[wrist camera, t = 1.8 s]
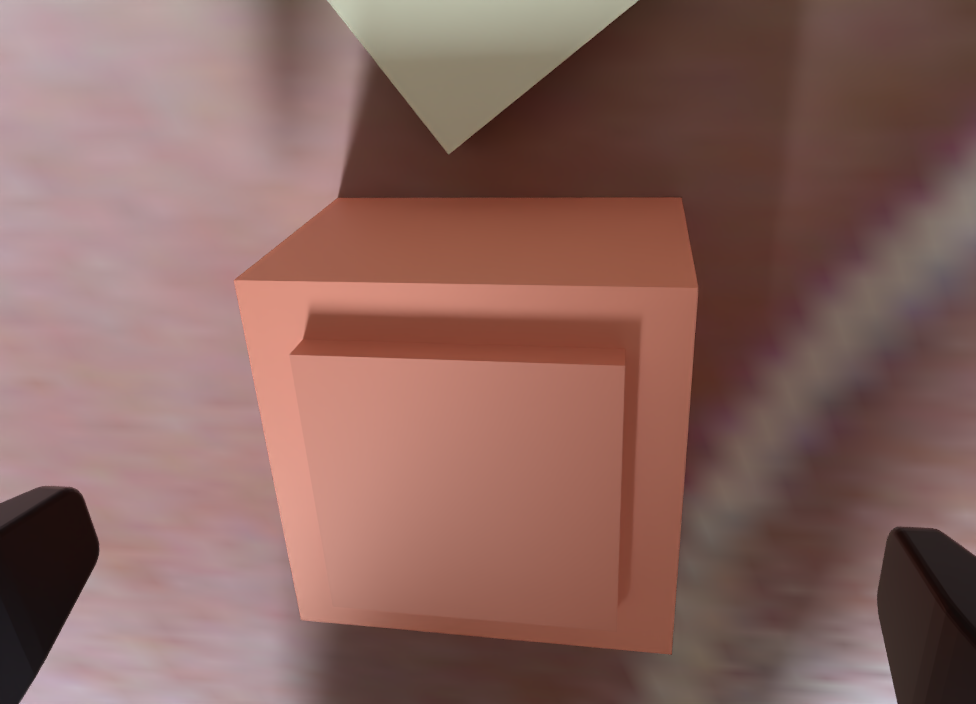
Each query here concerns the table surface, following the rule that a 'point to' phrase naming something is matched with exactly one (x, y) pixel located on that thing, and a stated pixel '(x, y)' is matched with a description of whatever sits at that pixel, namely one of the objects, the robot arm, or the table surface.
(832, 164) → the table surface
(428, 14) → the plate
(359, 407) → the red block
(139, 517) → the table surface
